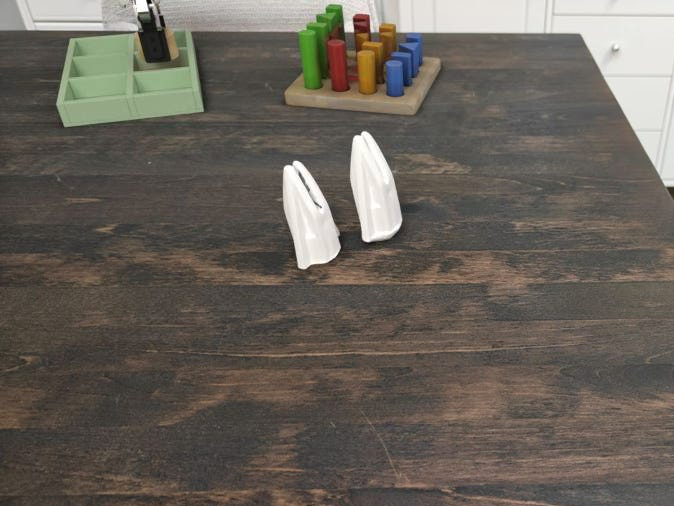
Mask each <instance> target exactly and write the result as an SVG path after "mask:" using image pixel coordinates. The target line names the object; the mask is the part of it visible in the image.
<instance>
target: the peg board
mask: <svg viewBox="0 0 674 506" xmlns="http://www.w3.org/2000/svg"><path fill="white" fill-rule="evenodd" d="M343 9H344V8H343V5H342V4H337V3H336V4H335V3H329V4H328V5H326V7H325V13H324V12H323V13H317V14H316V15H315V20H316V21H309V22H307V24H306V27H305V28H306V29H301V30H299V31H298V33H297V35H298V43H299V50H300V59H301V67H302V72H301V74H300V75H299V76H298V77H296V79H295V80H294V81H293V82H292V83H291V84H290V86H289V87H287V89H286V90H285V91H284V94H283V95H284V101H285V104H286V105H287V106H294V107H295V106H297V107H308V108H319V109H333V110H344V111H345V110H346V111H355V112H367V113H368V112H369V113H379V114H393V115H404V116H414V115H416V113H418V111H419V108H420V107H421V104H422V103H423V101H424V99H426V96H427V94H428V92H429V91H430V89H431V87H432V86H433V83H434V82H435V80H436V78H437V76H438V74H439V72H440V70H441V69H442V67H441V65H442V61H441V59H440V58H439V57H430V56H429V57H428V56H423V34H422V33H420V32H419V33H418V32H408V33H407V34H406V35H405V42H404V43H398V44H397V42H398V41H397V25H396V23H386V22H384V23H383V22H382V23H381V24H380V25H379V26H378V36H379V42H378V41H377V42H376V41H372V31H371V15H370V14H367V13H355V14H354V15H353V16H352V26H353V36H354V48H355V50H347V41H346V30H345V19H344V18H345V17H344V10H343ZM397 45H398V46H397Z"/></svg>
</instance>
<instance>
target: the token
mask: <svg viewBox="0 0 674 506" xmlns="http://www.w3.org/2000/svg"><path fill="white" fill-rule="evenodd" d="M161 28H162V29H164V31H165V35H166V39H167V43H168V47H169V51H170V55H171V60H173V59H175V58H177V57H178V56H179V52H178V48H177V44H176V40H175V36H174V32H173V30H174V29H171V28H169V27H166V28H164V27H161ZM134 39H135V43H136V46H137V50H138V54H139V57H140V59H141V60H142V61H145V58H144V54H143V51H142V47H141V43H140V39H139V36H138V32H137V31H135V32H134ZM145 62H146V61H145Z"/></svg>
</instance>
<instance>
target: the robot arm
mask: <svg viewBox="0 0 674 506" xmlns="http://www.w3.org/2000/svg"><path fill="white" fill-rule="evenodd" d="M117 2H118V5H119V6H120V7H121V8H123V9H126V8H127V6H129V5H130V2H131V7H132V10H133V14H134V19H135V22H136V27H137V30H136V32H138V36H139V39H140V43H141V47H142V51H143V54H144V58H145V61H146V63H160V62H169V61H171V55H170V51H169V47H168V43H167V39H166V35H165V31H164V29H162V28H161V27H164V28H167V26H166V22H165V18H164V15H163V14H162V11H161V8H160V7H161V6H160V5H159V4H160V3H161V0H117Z"/></svg>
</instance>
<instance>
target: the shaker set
mask: <svg viewBox="0 0 674 506" xmlns="http://www.w3.org/2000/svg"><path fill="white" fill-rule="evenodd" d="M351 143H352V145H351V154H350V165H349V167H350V169H349V181H350V185H351V191H352V194H353V199H354V203H355V207H356V211H357V215H358V219H359V223H360V228H361V229H360V230H361V240H362V241H363V242H366V243H372V242H384V241H386V240H387V241H388V240H390V239H391V238H393V237H394V236H395V235H396V234H397V232H398V231H399V230H400V229H401V226H402V223H403V215H402V210H401V206H400V201H399V195H398V192H397V187H396V183H395V178H394V174H393V173H392V170H391V167H390V166H389V164H388V162H387V160H386V158H385V156H384V154H383V152H382V150H381V149H380V147H379V144H378V143H377V142H376V140H375V138H373V136H372V135H371V134H370V132H367V131H362V132H361V133H360V135H354V136H353V138H352V142H351ZM282 201H283V202H282V203H283V212H284V214H285V215H284V216H285V218H286V221H287V224H288V227H289V231H290V234H291V236H292V240H293V243H294V244H293V245H294V250H295V257H296V262H297V268H298V269H301V270H306V269H308V268H309V267H310V266H311V265H315V264H316V265H322V264H326V263H329V262H330V261H332V260H333V259H335V258H336V257H337V256H338V254H339V252H340V251H341V243H340V240H339V237H340V236H341V234H340V230H339V228H338V226H337V225H336V223H335V222H334V218H333V215H332V212H331V209H330V206H329V204H328V202H327V199H326V197H325V196H324V194H323V192H322V191H321V189H320V187H319V185H318V183H317V182H316V181H315V178H314V177H313V176H312V174H311V173H310V171H309V170H308V169H307V168H306V166H305V165H304V164H303V163H302V162H300V161H299V160H293V161H292V165H290V164H287V165H285V166H284V167H283V173H282Z"/></svg>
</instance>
